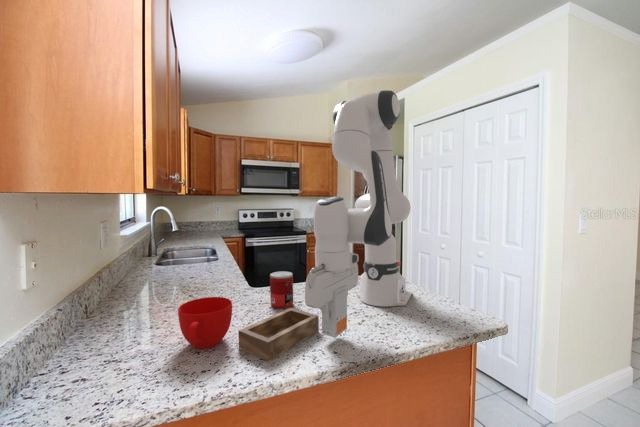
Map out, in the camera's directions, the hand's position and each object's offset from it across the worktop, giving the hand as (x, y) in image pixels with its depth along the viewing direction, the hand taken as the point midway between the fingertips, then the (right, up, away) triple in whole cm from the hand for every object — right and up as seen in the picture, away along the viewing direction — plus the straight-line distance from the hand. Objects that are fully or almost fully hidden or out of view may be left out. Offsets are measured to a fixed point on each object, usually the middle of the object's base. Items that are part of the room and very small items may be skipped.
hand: (334, 313), depth 78 cm
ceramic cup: (-33, -8, -2) cm, 34 cm away
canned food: (-17, -6, +27) cm, 33 cm away
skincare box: (0, -5, 0) cm, 5 cm away
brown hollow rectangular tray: (-14, -7, +1) cm, 16 cm away
